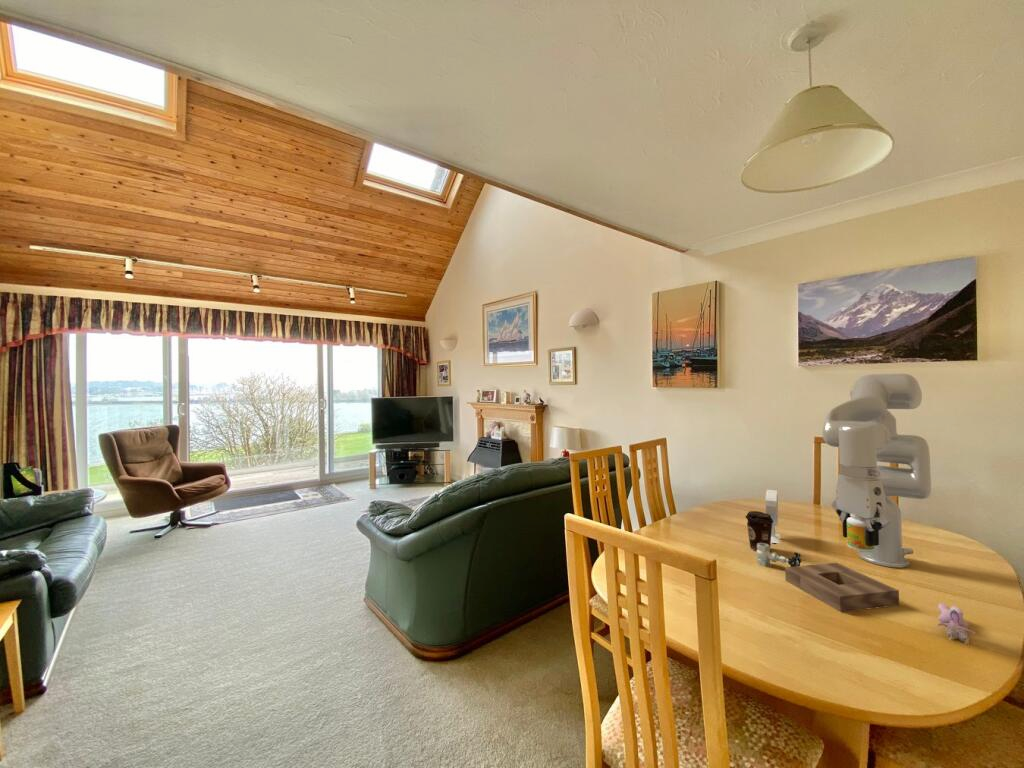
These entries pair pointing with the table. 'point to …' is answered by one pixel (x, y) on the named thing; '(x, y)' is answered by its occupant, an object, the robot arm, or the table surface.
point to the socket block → (841, 587)
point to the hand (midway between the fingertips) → (860, 540)
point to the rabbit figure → (954, 623)
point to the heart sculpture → (773, 512)
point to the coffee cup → (759, 528)
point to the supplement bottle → (857, 533)
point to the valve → (774, 556)
